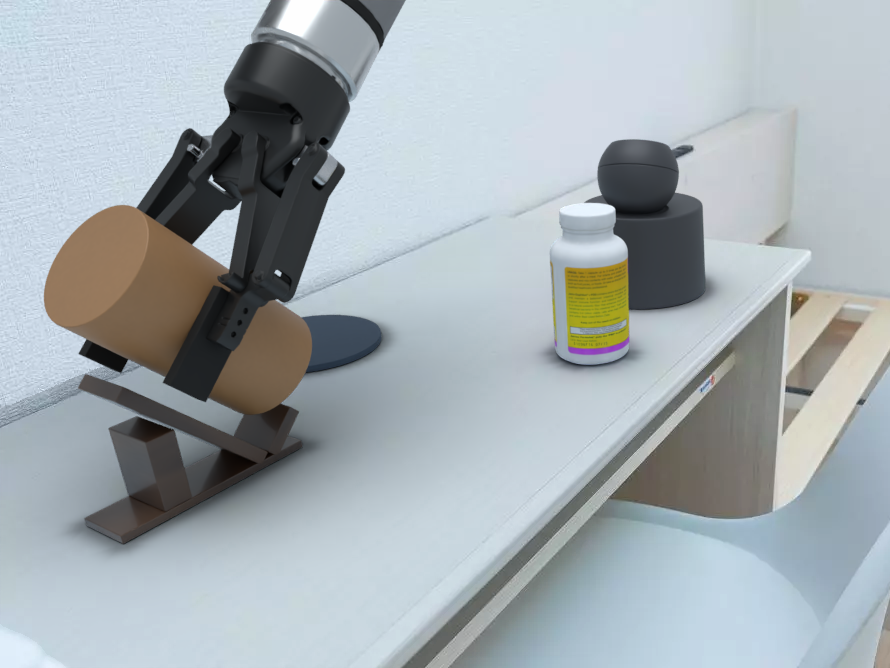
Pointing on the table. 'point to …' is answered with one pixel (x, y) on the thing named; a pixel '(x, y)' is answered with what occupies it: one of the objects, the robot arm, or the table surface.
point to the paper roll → (167, 307)
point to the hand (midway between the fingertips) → (140, 377)
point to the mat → (340, 340)
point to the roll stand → (179, 458)
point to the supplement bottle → (589, 286)
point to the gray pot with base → (653, 223)
